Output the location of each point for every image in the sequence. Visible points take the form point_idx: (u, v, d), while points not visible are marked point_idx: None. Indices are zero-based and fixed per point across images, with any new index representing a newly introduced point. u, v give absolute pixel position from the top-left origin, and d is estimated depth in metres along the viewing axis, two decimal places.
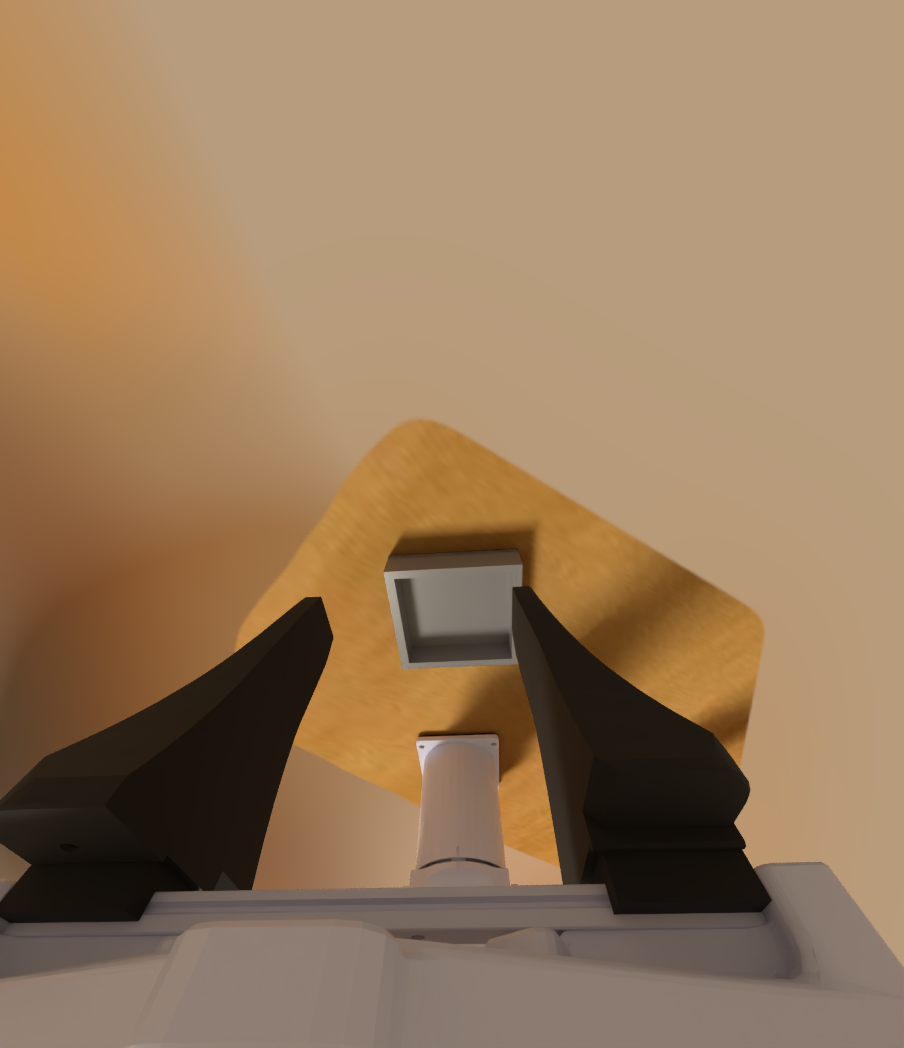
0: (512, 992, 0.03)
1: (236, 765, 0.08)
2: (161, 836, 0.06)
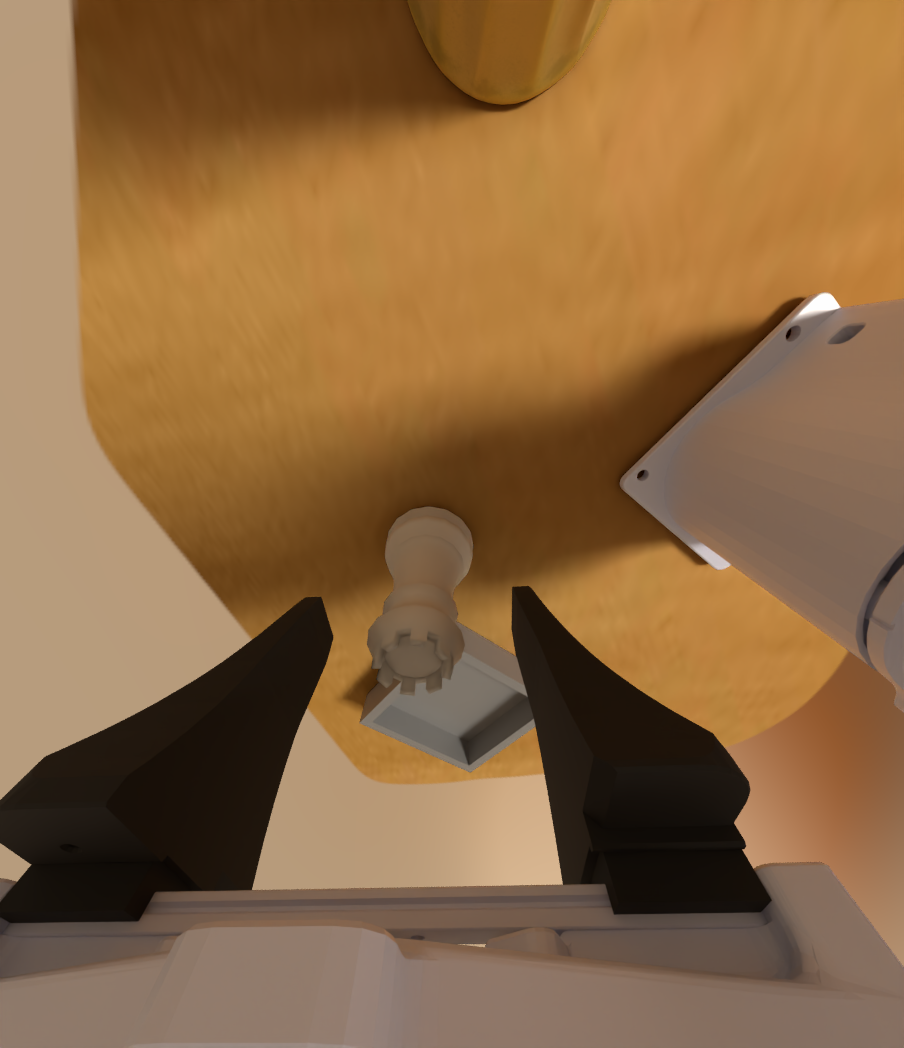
0: (512, 992, 0.03)
1: (236, 765, 0.08)
2: (161, 836, 0.06)
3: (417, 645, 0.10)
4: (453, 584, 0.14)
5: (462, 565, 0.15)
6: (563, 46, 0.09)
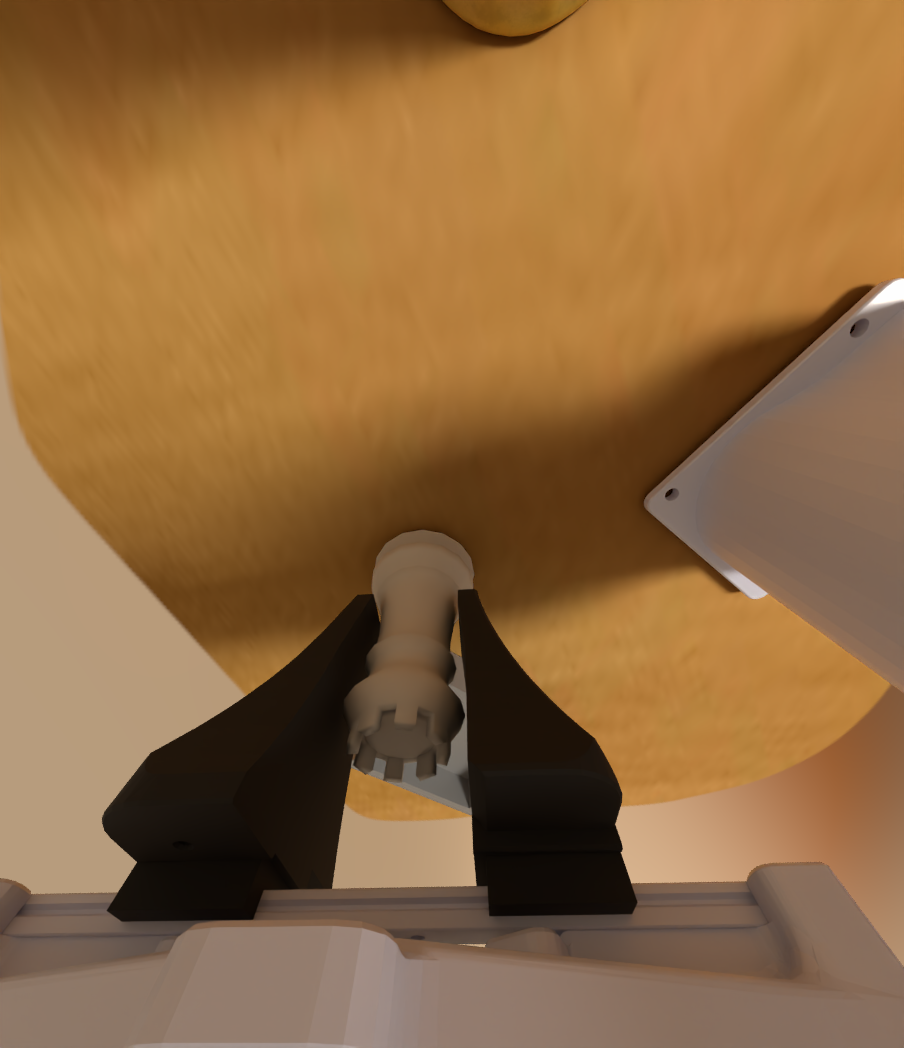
0: (512, 992, 0.03)
1: (319, 762, 0.08)
2: (270, 834, 0.06)
3: (404, 728, 0.07)
4: (451, 627, 0.11)
5: None
6: None
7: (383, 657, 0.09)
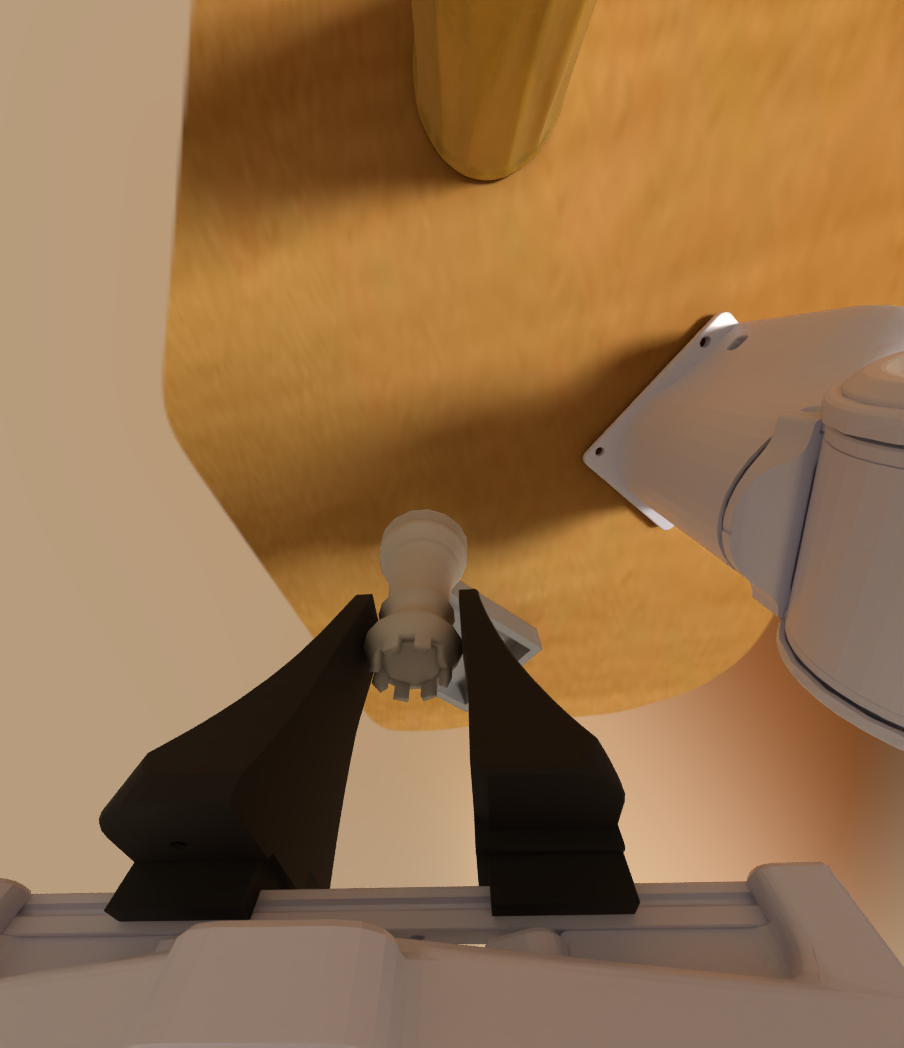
0: (512, 992, 0.03)
1: (317, 762, 0.08)
2: (267, 834, 0.06)
3: (420, 652, 0.10)
4: (450, 590, 0.14)
5: (458, 571, 0.15)
6: (526, 147, 0.13)
7: (399, 604, 0.11)
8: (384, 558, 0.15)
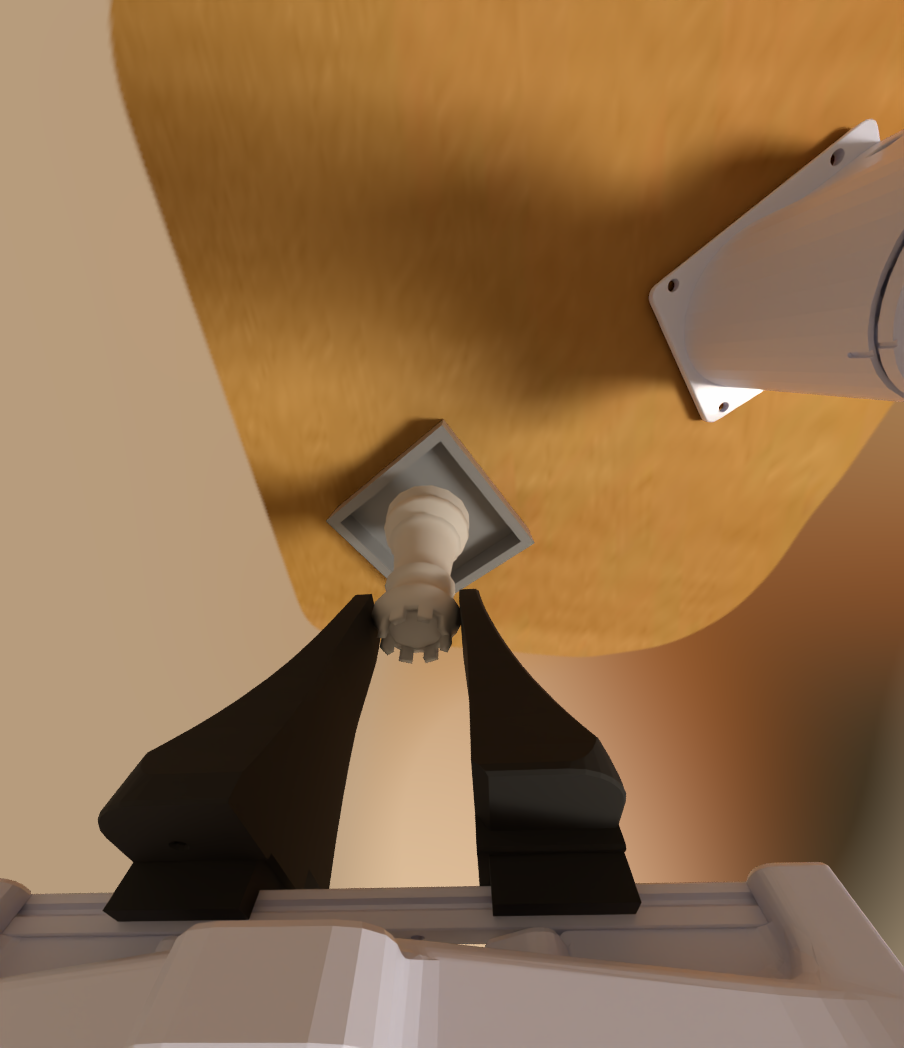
0: (512, 992, 0.03)
1: (316, 762, 0.08)
2: (266, 834, 0.06)
3: (423, 621, 0.11)
4: (451, 564, 0.14)
5: (459, 546, 0.16)
6: None
7: (403, 577, 0.12)
8: (389, 532, 0.16)
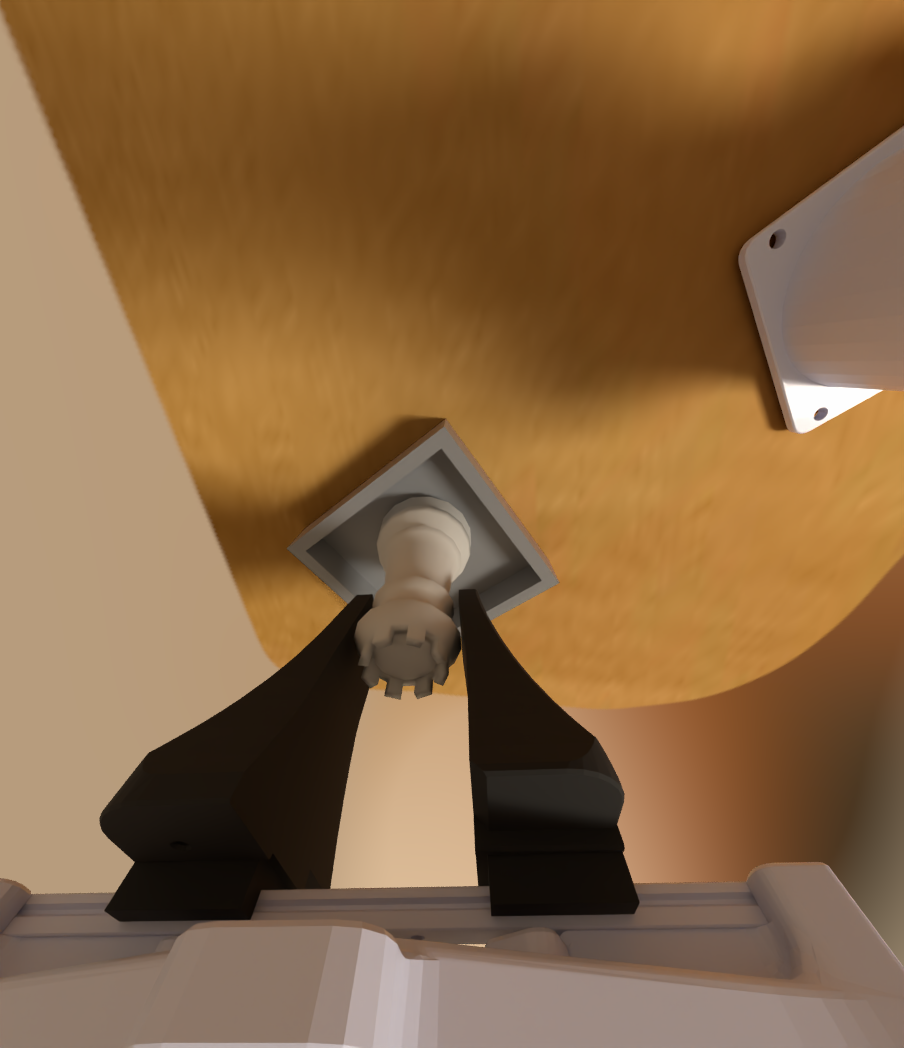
0: (512, 992, 0.03)
1: (317, 762, 0.08)
2: (268, 834, 0.06)
3: (413, 644, 0.09)
4: (450, 582, 0.13)
5: (459, 563, 0.14)
6: None
7: (393, 593, 0.10)
8: (382, 547, 0.14)
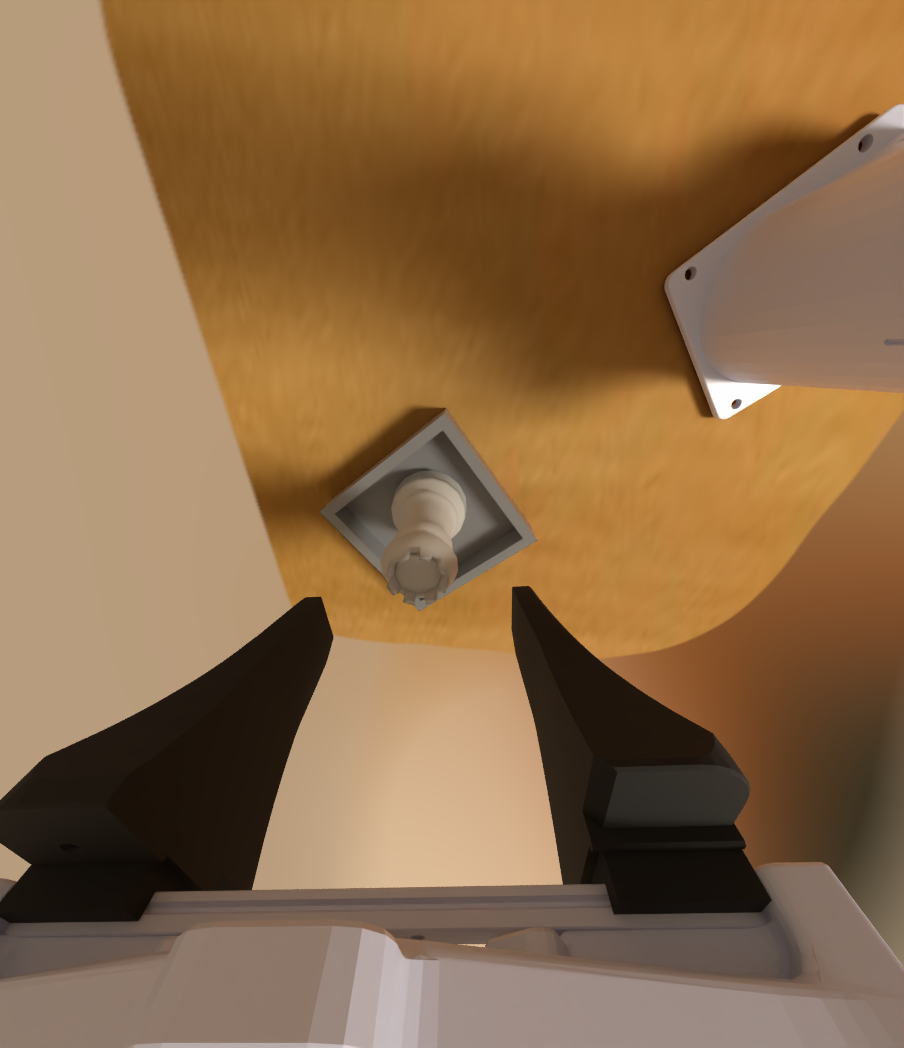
0: (512, 992, 0.03)
1: (236, 765, 0.08)
2: (161, 836, 0.06)
3: (424, 559, 0.12)
4: (449, 532, 0.16)
5: (457, 521, 0.18)
6: None
7: (408, 533, 0.14)
8: (396, 509, 0.18)
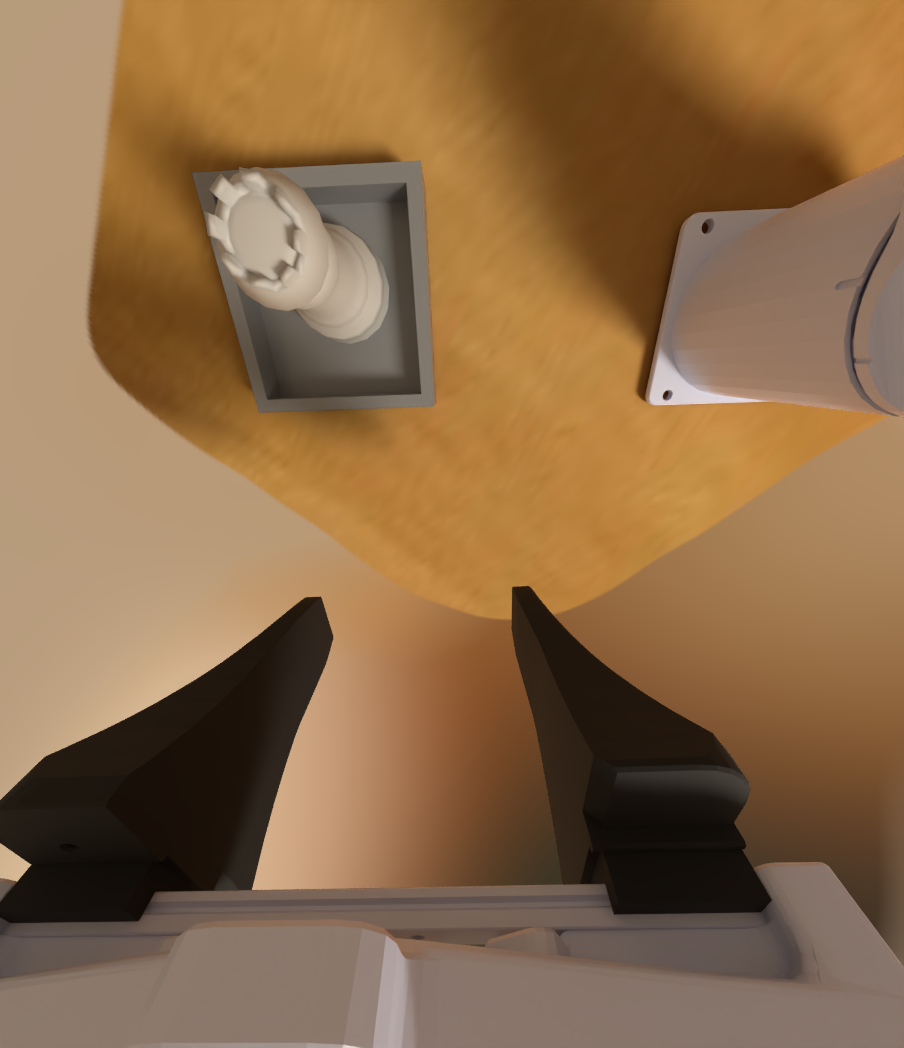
0: (512, 992, 0.03)
1: (236, 765, 0.08)
2: (161, 836, 0.06)
3: (279, 202, 0.08)
4: (343, 292, 0.13)
5: (361, 307, 0.14)
6: None
7: None
8: None
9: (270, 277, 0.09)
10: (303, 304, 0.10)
